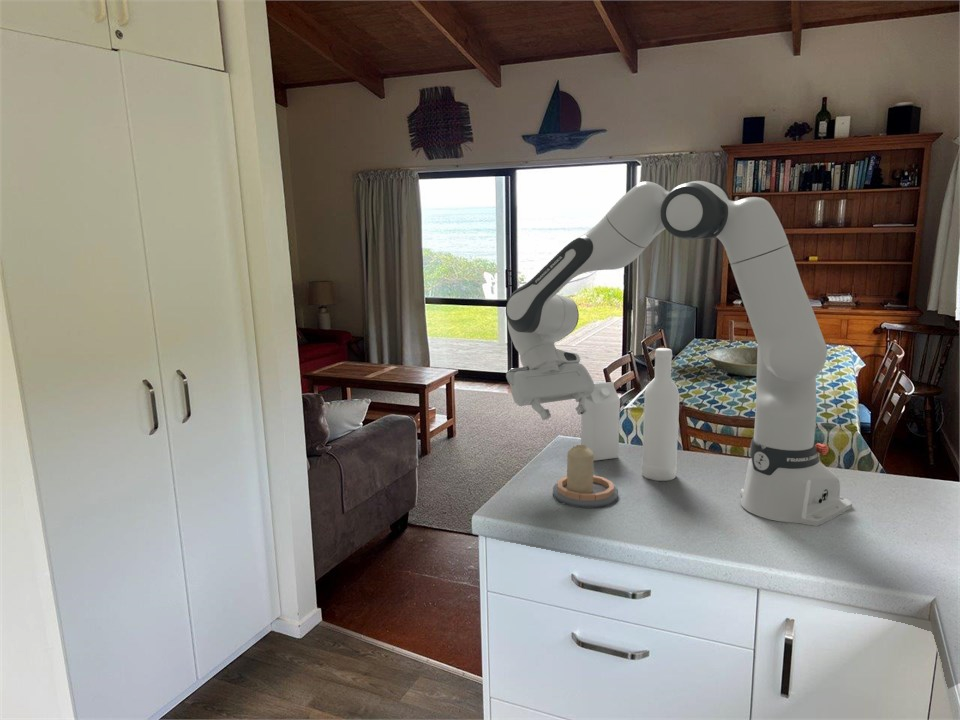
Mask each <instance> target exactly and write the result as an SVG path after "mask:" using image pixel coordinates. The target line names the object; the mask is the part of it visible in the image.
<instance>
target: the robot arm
mask: <svg viewBox="0 0 960 720" xmlns="http://www.w3.org/2000/svg"><path fill="white" fill-rule="evenodd" d="M604 215H605V216H604V217H602V219H601V220H599V222H598V223H597V224H595V226H593V227H592V228H590V229H589V230H587V232H585V233H584V234H582V235H581V236H578V237H577V238H575V239H573V240H572V241H570V242H569V243H568V244H567V245H565V246H564V247H563V248H562V249H561V250H560V251H559V252H558V253H557V254H556V255H554V256H553V257H552V259H551V260H550V261H548V262H547V264H546V265H544V266H543V267H542V268H541V269H540V270H539V272H537V273H536V274H535V275H534V276H533V278H531V279H530V280H528V282H526V283H525V284H523V285H521V286H520V287H518V288H517V289H516V290H514V291H513V292H512V293H511V295H510V296H509V298H508V300H507V302H506V305H505V315H506V319H507V321H506V322H507V328H508V333H509V336H510V338H511V340H512V343H513V347H514V348H515V350H516V351H517V352H518V354H519V357H520V358H519V359H520V360H519V361H520V362H521V365H522V366H521V367H514V368H510V369H508V371H506V374H505V378H506V380H507V383H508V384H509V385H510V391H511V396H512V399H513V402H514V404H515V405H517V406H518V407H525V406H531V408H532V410H534V411H535V412H536V413H537V414H539V415H540V418H541V420H542V421H545V420H549V419H550V418H551V416H552V415H551V412H550V409H549V408H547V409H546V408H545V407H544V406H543V405H542V404H546V403H555V402H562V401H569V400H575V402H576V403H578V405H577V407H576V408H575V411H576V413H577V415H581V414H585V412H586V408H585V405H584V402H585V397H589V396H590V395H591V393H592V392H593V391H594V388H595V385H594V384H595V383H594V380H593V378H592V376H591V375H590V372H589V371H588V369H587V368H586V366H584V364H582V363H580V362H581V357H580V355H579V354H577V353H575V352H571V351H570V352H569V351H565V350H562V349H557V348H556V345H555V343H558V342H560V341H562V340H563V339H564V338H566V337H567V336H569V335H570V334H571V333H572V332H574V330H575V329H576V327H577V325H578V322H579V318H580V315H579V314H580V313H579V308H578V305H577V304H576V302H575V301H574V300H573V299H572V298H570V297H566V296H563V295H560V294H558V293H559V292H560V291H561V290H562V289H563V288H564V287H565V286H566V285H567V284H568V283H569V282H571V280H573V279H574V278H576V277H577V276H580V275H582V274H585V273H589V272H595V271H597V272H598V271H604V270H606V271H607V270H618V269H621V268H622V269H623V268H625V267H627V266H628V265H630V264H631V263H632V262H634V261H635V260H636V259H637V258H638V257H639V256H640V255H642V253H643V252H645V250H646V249H647V247H649V245H650V244H651V243H652V241H653V240H654V239H655V238H656V237H657V236H658V235H659V234H661V233H662V232H663V231H664V230H665V231H667V232H668V233H669V234H670V235H672V236H674V237H675V238H677V239H681V240H690V241H691V240H702V239H714V238H716V239H717V240H719V241H720V242H721V244H722V246H723V248H724V250H725V252H726V256H727V258H728V261H729V262H728V263H729V264H730V267H731V271H732V274H733V277H734V280H735V283H736V285H737V289H738V291H739V295H740V297H741V300H742V304H743V306H744V309H745V311H746V315H747V318H748V319H749V322H750V326H751V329H752V331H753V335H754V337H755V340H756V342H757V351H756V352H757V353H756V354H757V357H756V358H757V359H756V383H755V385H756V388H755V389H756V390H755V391H756V393H755V395H756V396H755V399H756V400H755V414H754V426H753V427H754V429H753V430H754V431H753V433H754V434H753V437H752V439H751V440H750V441H751V442H750V445H749V448H750V449H749V450H750V453H749V456H750V459H749V460H748V462H747V463H748V464H747V469H746V474H745V480H744V486H743V487H742V488H741V489H740V493H739V494H740V496H741V499H740V500H741V501H740V505H741V506H742V508H744V509H745V510H746V511H747V512H749V513H751V514H753V515H756V516H758V517H760V518H764V519H767V520H772V521H776V522H783V523H785V522H786V523H796V524H797V523H798V524H799V523H800V524H805V525H809V526H820V525H822V524H824V523H826V522H828V521H829V520H832V519H833V518H836V517H837V516H839V515H842V514H843V513H845V512H847V511H849V510H850V509H852V508H853V502H851V501H850V499H848V498H847V497H845V496H843V495H841V494H840V493H841V484H840V480H839V479H840V478H839V477H838V476H837V475H836V474H835V473H833V472H832V471H831V470H830V469H828V467H826V466H825V465H824V464H823V463H822V462H821V461H820V459H819V458H820V457H819V454H821V455H823V456H825V455H827V454H828V452H829V450H830V449H829V448H830V447H829V446H828V445H827V444H822V443H820V442H817V443H816V444H815V432H816V422H817V412H818V410H817V409H818V405H817V375H819V373H821V371H822V370H823V368H824V366H825V364H826V362H827V356H828V349H827V345H826V341H825V339H824V336H823V333H822V330H821V328H820V325H819V322H818V320H817V317H816V315H815V312H814V309H813V307H812V304H811V302H810V299H809V296H808V294H807V292H806V289H805V287H804V285H803V282H802V278H801V277H800V273H799V269H798V267H797V264H796V261H795V258H794V254H793V252H792V248H791V246H790V244H789V243H790V242H789V240H788V237H787V234H786V232H785V230H784V227H783V225H782V223H781V221H780V219H779V217H778V215H777V213H776V212H775V209H774V208H773V206H772V205H771V203H770V202H769V201H768V200H766V199H765V198H763V197H758V196H749V197H745V198H744V197H743V198H741V199H738V200H732V199H731V197H730V195H729V193H728V191H727V190H726V189H725V188H724V187H723V186H722V185H719V184H718V183H715V182H711V181H704V180H694V181H690V182H685V183H681V184H679V185H677V186H675V187H673V188H672V189H671V190H670V191H669V190H667V189H665V188H664V187H663V186H661V185H660V184H659V183H656V182H653V181H648V180H647V181H641V182H638V183H637V184H636V185H634V186H633V187H632V188H631V189H629V190H628V191H627V192H626V193H624V195H623V196H621V197H620V198H619V200H617V202H616V203H615V204H614V205H613V206H612V207H611V208H610V209H609V211H608V212H607V213H606V214H604ZM818 453H819V454H818Z"/></svg>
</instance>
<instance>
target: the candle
mask: <svg viewBox="0 0 960 720" xmlns="http://www.w3.org/2000/svg"><path fill="white" fill-rule="evenodd" d="M566 460H567V463H566V464H567V470H566V471H567V475H566V476H567V489H568V490H569V491H573V492H578V493H592V491H593V475H594V461H593V452H592V451H591V450H590V449H589V448H588V447H586V446H585V445H581V444H577V445H575V446H572V447H571V448H570V449H569V450H568V451H567V459H566Z"/></svg>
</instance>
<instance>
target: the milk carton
mask: <svg viewBox="0 0 960 720" xmlns="http://www.w3.org/2000/svg"><path fill="white" fill-rule="evenodd" d="M594 385H595V388H594V391H593V392H592V393H591V395H590V396H589V397H585V402H584V405H585V408H586V412H585V414H580V418H581V422H580V423H581V424H580V425H581V426H580V428H581V429H580V445H585V446H586V447H588V448H589V449H590V450H591V451H592V452H593V462H594V461H601V460H608V459H609V460H610V459H618V458H619V451H620V450H619V446H620V445H619V444H620V420H621V419H620V414H621V408H620V407H621V400H620V397H619V395H618V393H617V390H616V388H615V386H614V385H615V382H614V381H609V382H599V383H597V382H596V383H594Z"/></svg>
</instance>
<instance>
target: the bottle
mask: <svg viewBox="0 0 960 720" xmlns="http://www.w3.org/2000/svg"><path fill="white" fill-rule="evenodd" d="M672 359H673V350H672V349H671V348H667V347H666V348H665V347H658V348H656V349H655V353H654V378H653V380H651V381H650V382H649V383H648V384H647V386H646V388H645V391H644V399H643V400H644V405H643V407H644V408H643V432H642V433H643V434H642V435H643V436H642V459H641V475H642V476H643V477H644V478H646V479H648V480H652V481H658V482H667V481H672V480H674V479H675V478H676V477H677V469H678V464H677V461H678V460H677V459H678V458H677V457H678V441H679V440H678V439H679V438H678V437H679V435H678V434H679V417H680V416H679V415H680V392H679V389H678V386H677V384H676V383H675V382H674V381H673V380H672V364H673V361H672Z"/></svg>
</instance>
